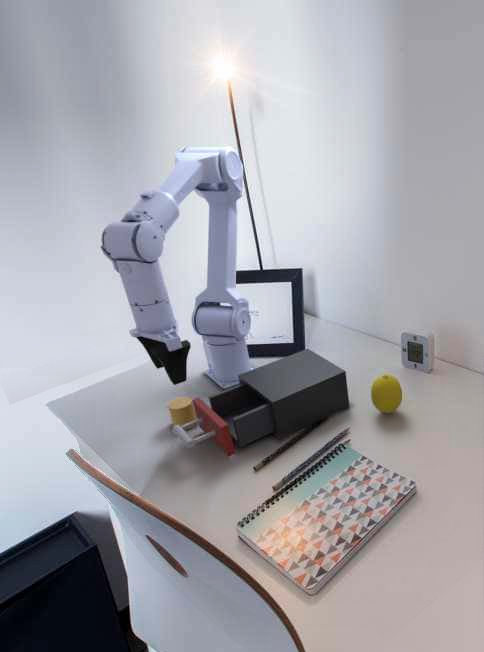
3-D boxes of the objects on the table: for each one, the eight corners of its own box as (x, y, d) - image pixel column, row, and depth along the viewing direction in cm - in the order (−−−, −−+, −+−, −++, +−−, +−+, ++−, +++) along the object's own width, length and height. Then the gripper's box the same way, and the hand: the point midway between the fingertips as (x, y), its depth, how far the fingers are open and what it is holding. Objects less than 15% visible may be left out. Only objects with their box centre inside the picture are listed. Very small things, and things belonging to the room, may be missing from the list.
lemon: (399, 423, 93) (397, 384, 89) (369, 420, 94) (365, 381, 90) (406, 405, 98) (404, 368, 94) (377, 403, 99) (374, 366, 95)
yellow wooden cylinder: (170, 423, 95) (163, 402, 93) (192, 414, 97) (186, 394, 95) (179, 433, 92) (172, 411, 90) (201, 423, 95) (195, 402, 92)
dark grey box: (279, 440, 90) (272, 402, 86) (245, 410, 98) (237, 375, 94) (349, 406, 98) (345, 371, 95) (312, 381, 106) (307, 348, 103)
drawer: (198, 471, 82) (189, 441, 79) (171, 439, 89) (162, 410, 86) (301, 422, 92) (296, 394, 90) (269, 397, 100) (264, 371, 97)
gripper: (108, 294, 85) (132, 367, 92) (137, 319, 76) (162, 399, 83) (152, 283, 90) (173, 354, 96) (186, 306, 80) (206, 382, 87)
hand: (171, 374), depth 90 cm, fingers open, 7 cm apart
